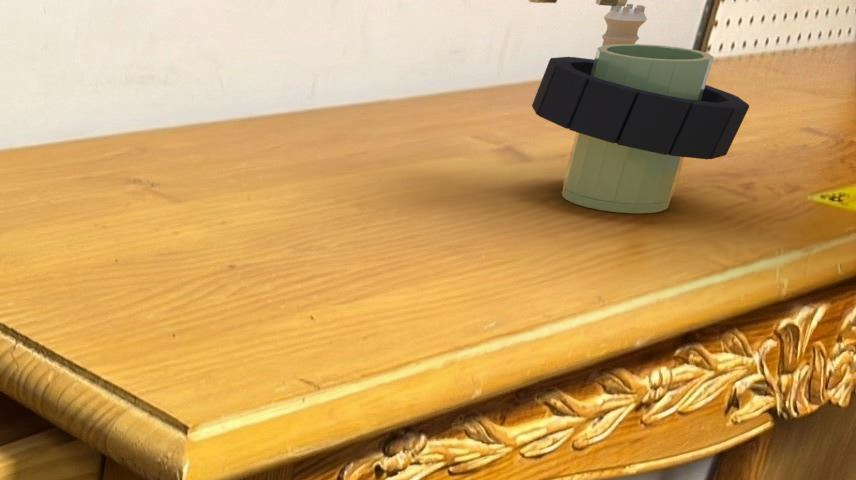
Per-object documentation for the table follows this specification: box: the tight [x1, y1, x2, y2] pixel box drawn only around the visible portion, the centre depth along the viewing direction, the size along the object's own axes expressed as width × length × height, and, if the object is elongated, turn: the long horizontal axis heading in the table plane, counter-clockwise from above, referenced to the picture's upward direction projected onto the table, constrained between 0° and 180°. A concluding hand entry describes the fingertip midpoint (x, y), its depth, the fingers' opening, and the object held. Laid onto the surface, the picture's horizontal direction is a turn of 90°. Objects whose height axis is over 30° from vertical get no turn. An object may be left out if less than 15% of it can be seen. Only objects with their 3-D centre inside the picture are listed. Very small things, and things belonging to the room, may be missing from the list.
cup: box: [561, 43, 715, 215], centre depth 76 cm, size 6×6×9 cm
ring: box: [531, 56, 750, 160], centre depth 75 cm, size 11×11×3 cm
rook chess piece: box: [601, 3, 648, 46], centre depth 102 cm, size 4×4×8 cm
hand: (575, 3), depth 73 cm, fingers closed
